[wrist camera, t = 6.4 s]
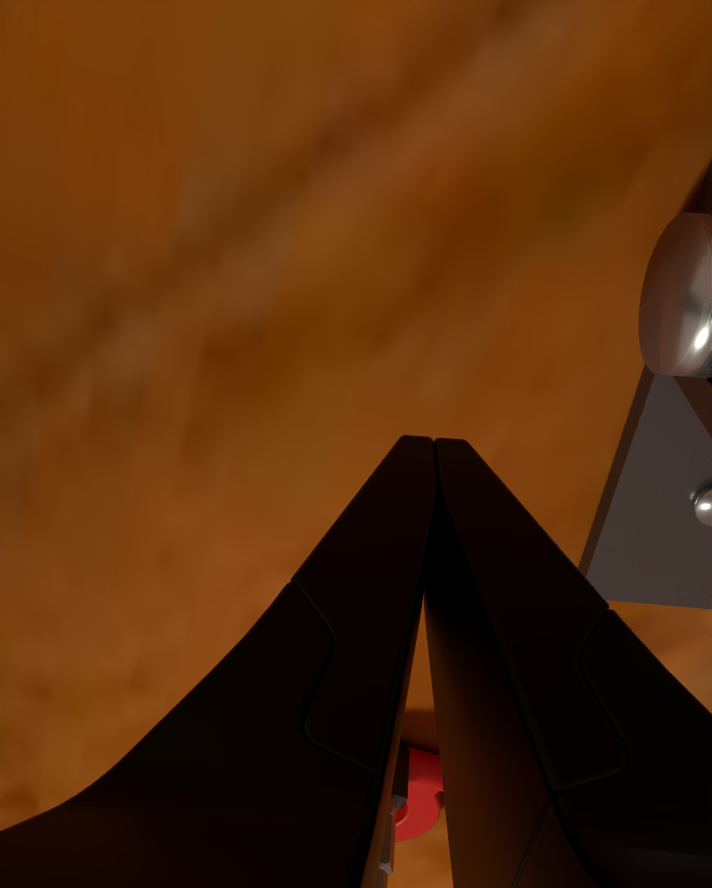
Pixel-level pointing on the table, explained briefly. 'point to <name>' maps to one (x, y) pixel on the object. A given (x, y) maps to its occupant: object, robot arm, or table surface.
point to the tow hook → (410, 803)
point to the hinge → (659, 494)
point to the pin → (679, 300)
